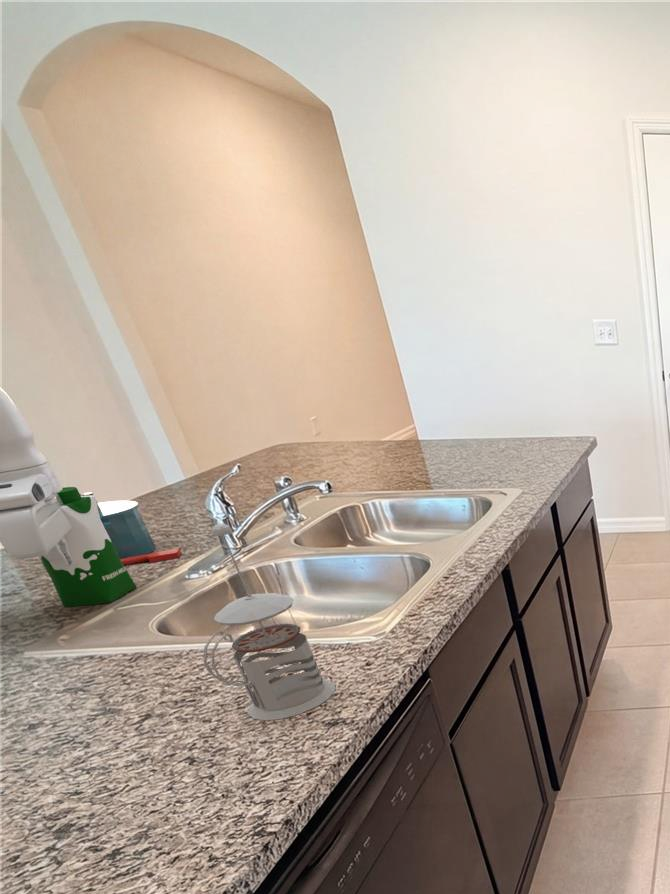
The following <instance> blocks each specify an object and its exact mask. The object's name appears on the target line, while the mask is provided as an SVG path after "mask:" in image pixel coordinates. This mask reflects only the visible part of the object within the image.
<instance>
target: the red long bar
mask: <svg viewBox="0 0 670 894" xmlns="http://www.w3.org/2000/svg"><path fill="white" fill-rule="evenodd" d="M181 555H182V551H181V549H180V547H177V548H171V549H167V550H166V549H165V550H159V551H153V552H151V553H149V554H146V555H141V556H135V557H129V558H123V559H121V561H122V563H123V565H124V566H129V565H134V564H140V563H146V562H149V563H157V562H163V561H167V560H168V561H169V560H175V559H180V558H181Z"/></svg>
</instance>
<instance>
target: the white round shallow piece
mask: <svg viewBox="0 0 670 894" xmlns="http://www.w3.org/2000/svg"><path fill="white" fill-rule="evenodd" d="M80 495H81V496H89V495H94V493H93V492H82V493H80ZM96 503H97V507H98V511H99V516H100V519H103V518H108V517H112V516H116V515H120V514H123V513H126V512H129V511H132V510H134V509H136V508H137V509H138V508H139V506H140V504H139V502H137V501H135V500H111V501H103V502H98V500H96Z"/></svg>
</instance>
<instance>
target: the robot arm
mask: <svg viewBox="0 0 670 894" xmlns="http://www.w3.org/2000/svg"><path fill="white" fill-rule="evenodd" d="M34 439H35V438H34V434H33V431H32V429H31V428H30V425H29V424H28V423H27V421H26V419H25V417H24V416H23V414H22V412H21V411H20V410H19V409H18V406H17V405H16V404H15V402H14V400H12V398H11V397H10V396H9V395H8V394H7V392H6V391H5V390H4V389H3V388H1V387H0V544H1V545H2V546H3V548H4V550H6V553H8V554H9V555H10V556H12V557H13V558H15V559H16V560H27V559H33V558H39V556H44V557H45V558H46V559H47V560H48V561H49V562H50V564H51V565H52V567H53V569H55V570H61V569H66V568H68V567H69V566H70V564H71V563H72V562H73V560H72V558H71V556H70V554H69V551H68V547H67V543H66V540H65V538H64V536H65V535H66V534H67V533H68V532H69V531H70V529H71V528H72V525H71V523H70V522H69V520H68V519H67V517H66V516H65V515H64V513H63V512H62V510H61V507H62V506H60V505H62V504H63V502H62V501H61V499H60V497H59V495H58V492H60V491H62V490H63V488H64V487H63V486H62V484H61V482H60V481H59V479H58V477H57V475H56V473H55V472H54V470H53V468H52V466H51V464H50V463H49V461H48V459H47V458H46V456H45V455H44V454H43V453H41V451H40V449H38V448H37V446H36V443H35V440H34Z"/></svg>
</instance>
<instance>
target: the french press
mask: <svg viewBox="0 0 670 894" xmlns="http://www.w3.org/2000/svg"><path fill="white" fill-rule="evenodd" d="M233 531H234V530H233V529H232V528H231V526H230V525H228V524H226V523H218V524H215V525H214V526H212V527H211V529H210V532H211V534H212V536H214V537H221V536H222V538H223V541H224V543H225V545H226V547H227V548H226V549H227V550H228V553H229V555H230V557H231V559H232V562H233V564H234V566H235V569H236V571H237V573H238V576H239V579H240V580H241V583H242V586H243V588H244V590H245V593H246V594H247V595H246V596H243V597H240V598H237V599H234V600H233V601H231V602H229V603H227V604H225V606H224V607H223V608H221V609H220V610H219V611H218V612H217V613H216V614H215V615H214V617H213V620H214V621H215V622H216V623H217V624H218V625H220V626H227V627H235V626H244V625H250V624H254V623H259V625H260V627H259V628H256V629H253V630H249V631H248V632H245V633H243V634H242V635H240V636H239V637H237V638H236V639H235V640H234V638H233V636H232V634H231V633H224V632H223V631H215V633H213V635H211V637H209V639H208V640H207V641H206V643H205V645H204V647H203V648H204V649H203V656H202V657H203V663H204V666H205V668H206V669H207V672H208V673H209V674H210V675H211V676H212V677H213V678H215V679H216V680H218V681H220V682H222V683H226V684H227V685H232V686H236V687H241V686H244V687H245V690H246V691H247V694H248V696H249V698H250V700H251V704H250V705H249V707H248V712H247V714H248V716H250V717H251V718H252V719H254V720H258V721H259V720H260V721H266V722H267V721H274V720H282V719H283V720H284V719H287V718H291V717H293V716H298V715H300V714H302V713H305V712H308V711H310V710H312V709H314V708H316V707H318V706H320V705H321V704H323V703H324V702H326V701H328V700H329V699H330V697H331V696H332V695H333V694H334V693H335V692H336V684H335V683H334V682H333V681H331V680H329V679H326V678H323V676H322V673H321V671H320V668H319V665H318V664H317V661H316V658H315V656H314V654H313V653H314V652H313V651H312V648H311V645H310V644H309V641H308V638H307V636H306V634H304V633H300V631H301V627H300V626H299V625H297V624H293V623H280V624H279V623H277V624H276V623H274V624H272V625H268V626H267V625H266V626H264V625H263V623H262V621H266V620H269V619H271V618H275V617H277V616H279V615H280V614H283V613H285V612H287V611H288V610H289V609H291V608H292V606H293V603H294V597H291V596H290V595H287V594H282V593H277V592H264V593H252V594H250V592H249V589H248V588H247V585H246V583H245V581H244V579H243V575H242V574H241V571H240V568H239V566H238V564H237V561H236V559H235V557H234V555H233V552H232V550H231V547H230V545H229V543H228V541H227V538H226V536H225V535H230V534H232V533H233ZM219 634H220V635H221V637H220V638H219V639H218V640H217V641H216V642H215V643H214V645H213V648H212V650H211V666H212V668H213V670H212V668H211V666H210V664H209V663H208V658H207V657H208V656H207V654H208V648H209V646H210V643H211V641H212V640H213V639H214V638H215V637H216V636H217V635H219ZM227 637H228V638H229V639H228V638H227ZM222 640H224V641H225V642H227V643H232V645H231V648H232V649H233V650H234V651H235V652H234V654H233V659H234V662H235V664H236V666H237V668H238V671H239V673H240V675H241V678H242V680H241V679H240V680H228V679H226V678H225V677H224V676H223V675H221V673H220V672H219V671H218V668H217V666H216V663H215V652H216V650H217V648H218V646H219V644H220V642H221V641H222ZM292 647H294V649H293V650H290V651H281V652H263V651H267V650H275V649H276V650H277V649H287V648H292ZM247 653H253V654H251V655H249V656H248V657H246V659H245V660H244V661H242V660H243V658H244V657H245V655H247ZM260 658H268V659H263V660H257V659H260ZM253 660H255V661H253ZM256 660H257V661H256ZM287 665H289V666H287ZM277 666H284V667H282V668H275V667H277ZM213 671H214V672H215V673H214V672H213ZM301 671H304V672H301ZM289 673H290V674H289ZM291 673H294V674H291ZM283 674H289V675H285V676H281V675H283Z"/></svg>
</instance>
